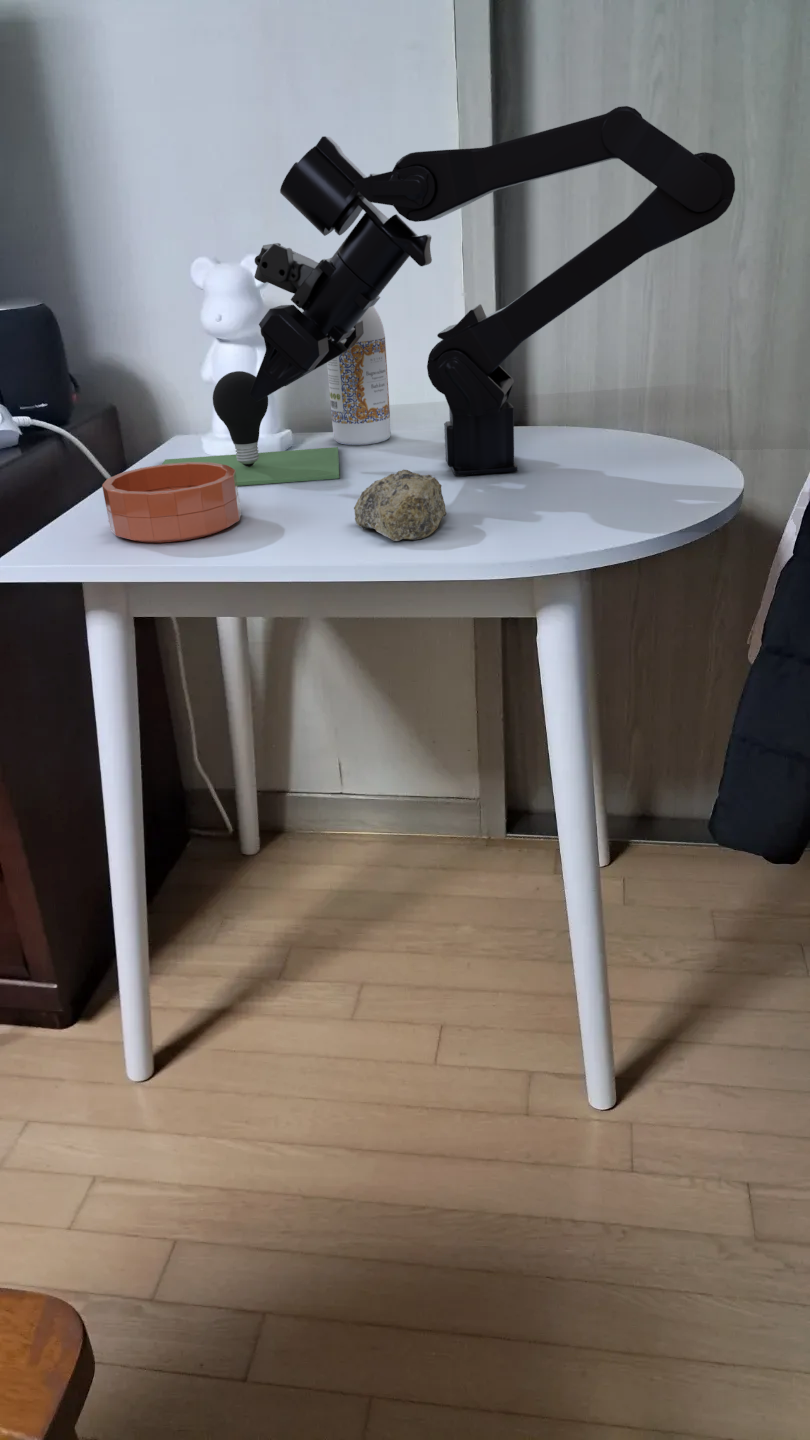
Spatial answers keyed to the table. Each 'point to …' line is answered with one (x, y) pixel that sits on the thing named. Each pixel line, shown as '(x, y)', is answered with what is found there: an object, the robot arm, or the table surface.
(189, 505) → the pot
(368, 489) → the rock
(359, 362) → the bath foam
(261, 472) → the mat
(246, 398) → the light bulb
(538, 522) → the table surface
